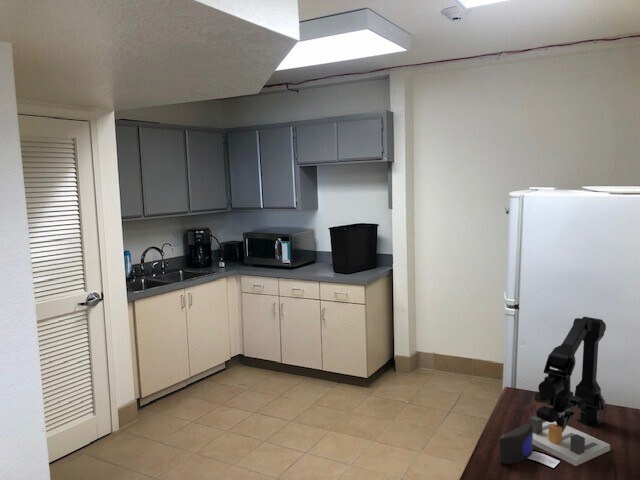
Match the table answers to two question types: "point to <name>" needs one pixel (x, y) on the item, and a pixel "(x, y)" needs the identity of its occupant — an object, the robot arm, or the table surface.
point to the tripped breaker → (555, 433)
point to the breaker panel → (567, 443)
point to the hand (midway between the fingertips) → (561, 431)
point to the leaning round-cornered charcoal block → (516, 445)
